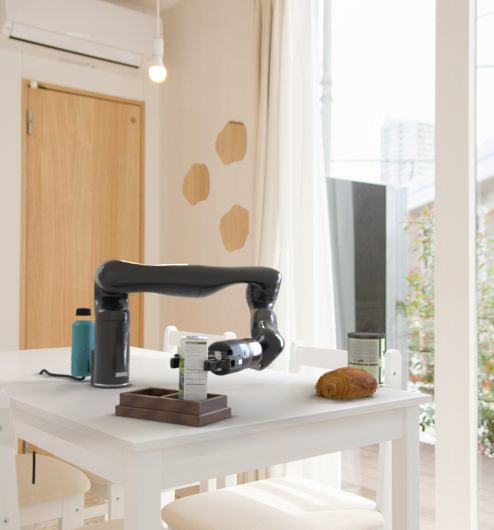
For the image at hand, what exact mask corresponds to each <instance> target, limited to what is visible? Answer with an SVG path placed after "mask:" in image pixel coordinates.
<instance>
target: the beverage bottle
mask: <svg viewBox="0 0 494 530" xmlns="http://www.w3.org/2000/svg"><path fill="white" fill-rule="evenodd" d="M75 310H76V311H75V316H76V317H91V316H92V311H91V308H89V307H79V308H76V309H75ZM94 341H95V322H93V320H90V319H76V320H74V321H73V322H72V324H71V347H70V354H71V355H70V375H72V376H75V377H78V378H81V377H86V378H87V377H91V373H90V372H88V369H90V364H91V350H92V349H93V348H94Z"/></svg>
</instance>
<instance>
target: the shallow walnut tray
mask: <svg viewBox="0 0 494 530" xmlns="http://www.w3.org/2000/svg"><path fill="white" fill-rule="evenodd" d="M118 403H119V404H116V405H114V416H119V417H127V418H134V419H139V420H147V421H155V422H161V423H169V424H177V425H184V426H190V427H199V428H200V427H202V426H205V425H209V424H213V423H215V422H218V421H221V420H224V419H228V418H231V417H232V407H231V406H228V394H221V393H211V392H207V399H206V400H202V401H190V400H181V399H179V389H176V388H175V389H174V388H166V387H156V386H148V387H143V388H138V389H134V390H129V391H128V390H127V391H123V392H120V393H119V401H118Z"/></svg>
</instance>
